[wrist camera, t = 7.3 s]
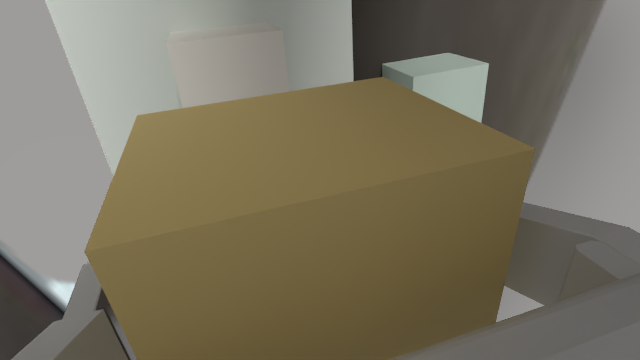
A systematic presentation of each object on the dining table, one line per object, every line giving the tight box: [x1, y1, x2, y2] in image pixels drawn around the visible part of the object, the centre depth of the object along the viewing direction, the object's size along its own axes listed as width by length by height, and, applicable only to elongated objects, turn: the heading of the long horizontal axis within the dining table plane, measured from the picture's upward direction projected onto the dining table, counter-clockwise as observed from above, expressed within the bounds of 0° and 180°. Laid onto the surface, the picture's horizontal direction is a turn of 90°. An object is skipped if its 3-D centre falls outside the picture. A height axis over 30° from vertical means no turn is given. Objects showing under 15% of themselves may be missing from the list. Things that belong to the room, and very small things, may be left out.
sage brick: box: [382, 53, 489, 123], centre depth 30 cm, size 6×6×5 cm
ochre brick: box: [85, 77, 535, 360], centre depth 8 cm, size 6×6×5 cm
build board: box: [45, 0, 354, 176], centre depth 23 cm, size 18×18×6 cm
